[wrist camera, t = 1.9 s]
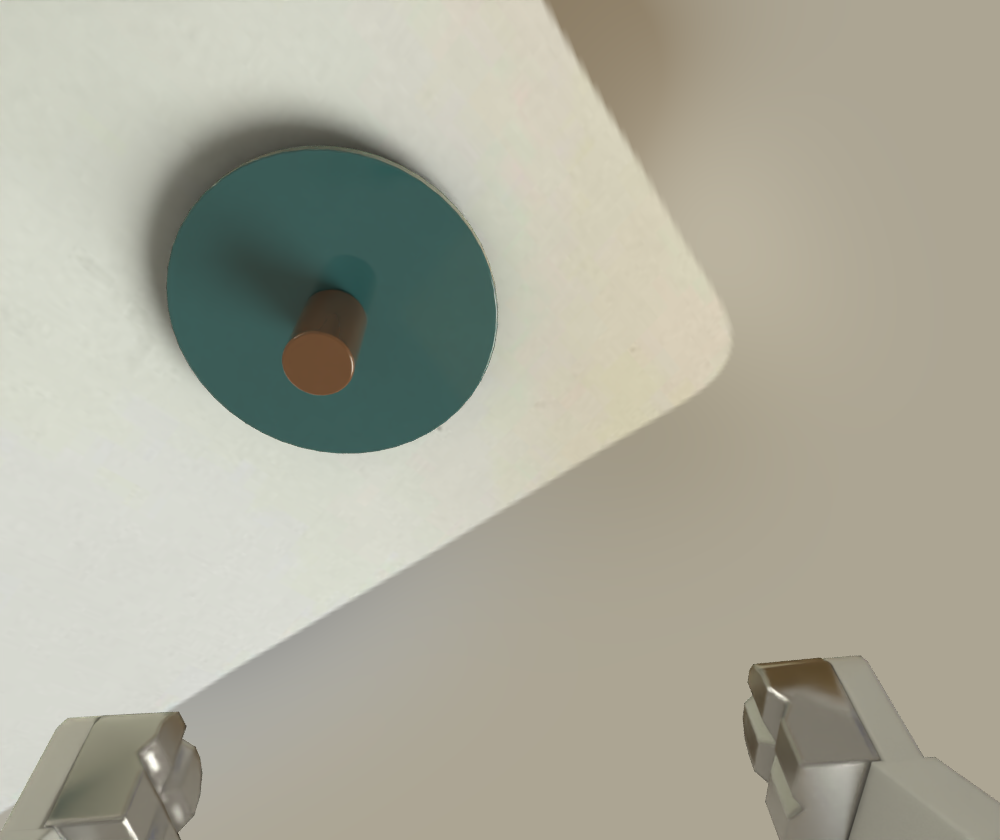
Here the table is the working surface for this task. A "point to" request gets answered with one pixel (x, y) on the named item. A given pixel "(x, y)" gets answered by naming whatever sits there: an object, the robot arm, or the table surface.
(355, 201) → the lid
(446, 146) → the table surface
